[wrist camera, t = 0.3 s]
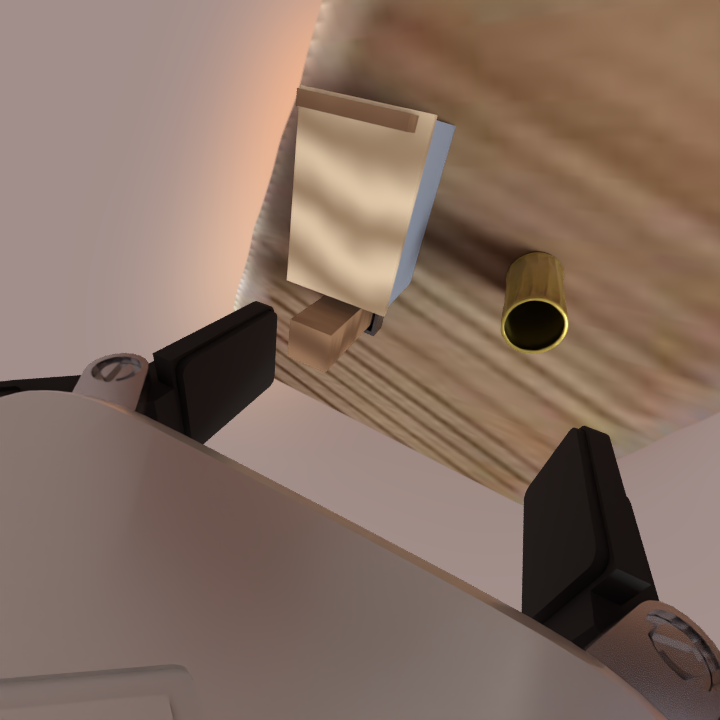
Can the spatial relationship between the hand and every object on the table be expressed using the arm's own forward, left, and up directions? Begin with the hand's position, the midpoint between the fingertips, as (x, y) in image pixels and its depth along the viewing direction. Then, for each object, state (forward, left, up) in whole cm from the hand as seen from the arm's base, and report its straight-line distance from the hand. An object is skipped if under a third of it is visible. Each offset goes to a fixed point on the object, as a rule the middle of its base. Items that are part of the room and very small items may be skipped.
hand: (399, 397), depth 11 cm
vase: (+5, +6, -36) cm, 37 cm away
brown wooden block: (+15, -14, -36) cm, 42 cm away
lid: (+2, -14, -26) cm, 29 cm away
